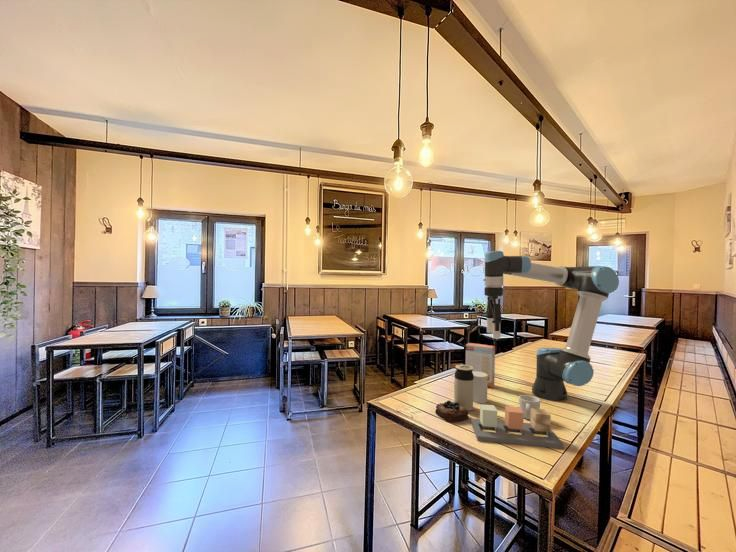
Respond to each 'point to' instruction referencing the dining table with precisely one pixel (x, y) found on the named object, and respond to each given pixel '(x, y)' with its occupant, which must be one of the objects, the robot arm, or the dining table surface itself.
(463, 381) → the travel mug
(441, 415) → the pastry
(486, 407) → the sage block
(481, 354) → the cracker box
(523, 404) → the cup
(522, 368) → the dining table surface
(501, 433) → the board
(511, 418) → the terracotta block
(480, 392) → the white cylindrical canister
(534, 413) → the oak block
